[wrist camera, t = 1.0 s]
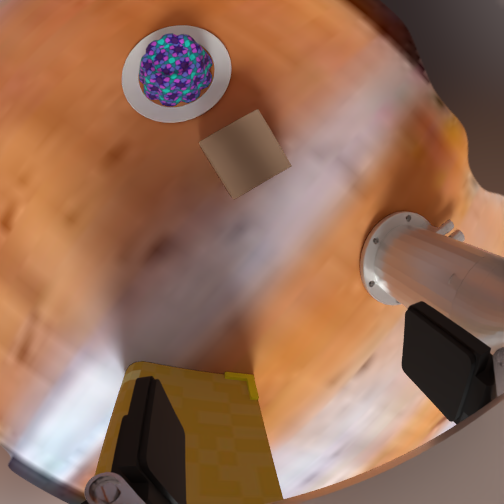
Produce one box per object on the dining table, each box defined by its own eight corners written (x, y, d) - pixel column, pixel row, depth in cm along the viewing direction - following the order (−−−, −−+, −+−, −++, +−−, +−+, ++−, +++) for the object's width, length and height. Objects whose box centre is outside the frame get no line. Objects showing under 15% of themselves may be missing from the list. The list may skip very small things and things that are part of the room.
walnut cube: (249, 119, 31) (258, 109, 25) (277, 166, 33) (291, 166, 27) (200, 147, 31) (198, 142, 25) (229, 194, 33) (233, 200, 27)
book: (253, 374, 39) (298, 544, 15) (242, 409, 40) (274, 564, 17) (126, 354, 36) (74, 525, 12) (125, 392, 37) (89, 548, 13)
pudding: (246, 100, 31) (253, 88, 25) (142, 141, 30) (131, 136, 25) (210, 15, 27) (211, -7, 22) (111, 53, 27) (97, 36, 22)
